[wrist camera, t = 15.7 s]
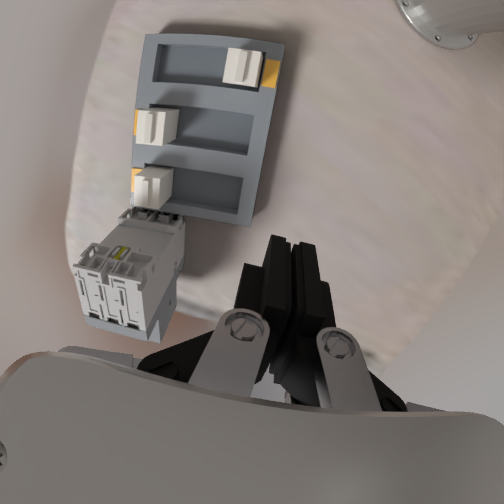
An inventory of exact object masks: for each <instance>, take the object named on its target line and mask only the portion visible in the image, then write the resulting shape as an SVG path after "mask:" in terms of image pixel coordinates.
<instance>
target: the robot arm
mask: <svg viewBox="0 0 504 504" xmlns="http://www.w3.org/2000/svg"><path fill="white" fill-rule="evenodd" d="M395 1H396V4H397V6H398V8H399V10H400V12H401V14H402V15H403V17H404V18H405V20H406V21H407V22H408V23H409V25H410V26H411V27H412V28H413V29H414V30H415V31H416V32H417V33H418V34H419V35H421V36H422V37H423V38H425V39H426V40H427V41H429V42H431V43H433V44H435V45H437V46H439V47H442V48H446V49H462V48H466V47H468V46H470V45H472V44H473V43H474V42H475V41H476V39H477V37H478V35H479V34H481V33H489V32H497V31H504V0H395ZM403 4H404V5H403ZM435 38H436V39H435ZM269 363H270V367H269V373H271V374H274V383H277V384H281V385H282V387H283V388H284V389H285V390H286V392H285V396H284V399H285V403H282V402H276V401H269V400H263V399H258V398H252V397H250V396H251V393H252V390H253V386H254V384H256V383H258V382H259V381H261V379H262V377H263V375H264V373H265V372H266V370H267V368H268V366H269ZM0 504H504V426H503V424H501V423H500V422H499V421H497V420H495V419H493V418H491V417H488V416H486V415H482V414H478V413H472V412H471V413H470V412H449V411H444V410H439V409H435V408H431V407H426V406H422V405H418V404H414V403H410V402H407V403H406V404H405V403H404V402H403V400H402V399H401V398H400V397H399V396H398V395H396V394H395V393H394V392H393V391H392V390H391V389H390V388H388V387H387V386H386V385H385V384H384V383H383V382H382V381H380V380H379V379H378V378H377V377H376V376H375V375H373V374H372V373H371V372H370V371H369V370H368V368H367V365H366V362H365V359H364V357H363V354H362V351H361V349H360V346H359V344H358V342H357V340H356V339H355V338H354V337H353V336H352V335H351V334H350V333H348V332H347V331H345V330H343V329H340V328H336V323H335V317H334V311H333V305H332V299H331V293H330V287H329V284H328V283H327V282H324V281H321V280H320V273H319V267H318V260H317V254H316V248H315V245H312V244H308V243H304V242H300V243H299V245H297V244H294V246H293V248H292V251H291V243H289V242H286V238H284V237H280V236H276V235H271V237H270V241H269V244H268V248H267V251H266V255H265V258H264V262H263V265H262V267H259V266H255V265H251V264H247V263H244V266H243V270H242V274H241V278H240V283H239V287H238V291H237V295H236V300H235V304H234V309H232V310H229V311H227V312H225V313H224V314H223V315H222V317H221V318H220V320H219V322H218V324H217V326H216V328H215V330H213V331H211V332H208V333H205V334H203V335H200V336H198V337H195V338H193V339H190V340H188V341H185V342H182V343H180V344H177V345H174V346H172V347H169V348H167V349H164V350H161V351H158V352H156V353H153V354H150V355H149V356H147V357H145V358H144V359H138V358H133V355H132V354H124V353H117V352H109V351H102V350H96V349H90V348H83V347H77V346H68V347H65V348H62V349H60V350H59V351H58V352H50V351H48V352H37V353H31V354H28V355H25V356H23V357H21V358H20V359H18V360H17V361H15V362H14V363H13V364H12V365H11V366H10V367H9V368H8V369H7V370H6V371H5V372H4V374H3V375H2V376H1V377H0Z"/></svg>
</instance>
